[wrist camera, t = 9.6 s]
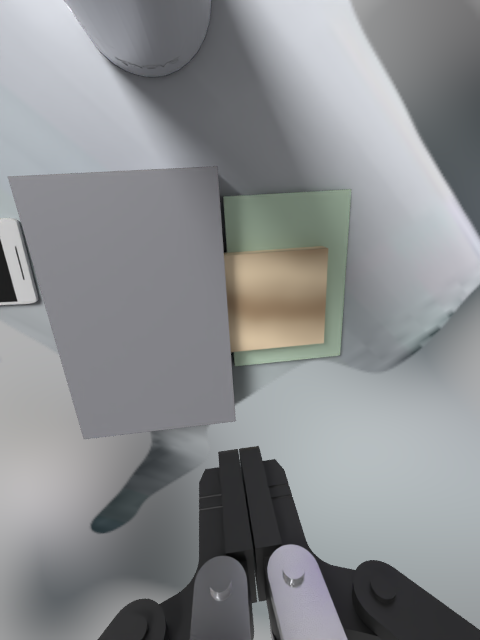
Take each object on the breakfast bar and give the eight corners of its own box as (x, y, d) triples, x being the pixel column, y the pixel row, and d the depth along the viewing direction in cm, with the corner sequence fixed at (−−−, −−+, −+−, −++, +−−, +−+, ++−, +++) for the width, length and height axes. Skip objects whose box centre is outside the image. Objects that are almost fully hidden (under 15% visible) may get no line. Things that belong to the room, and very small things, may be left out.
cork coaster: (222, 252, 28) (224, 255, 27) (322, 246, 29) (328, 248, 27) (229, 345, 31) (230, 352, 30) (318, 336, 32) (323, 343, 31)
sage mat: (222, 196, 27) (223, 196, 26) (348, 189, 28) (351, 189, 27) (234, 363, 33) (234, 366, 32) (337, 352, 34) (340, 355, 33)
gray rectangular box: (36, 179, 25) (7, 176, 21) (215, 170, 26) (217, 166, 22) (97, 412, 33) (83, 439, 29) (231, 397, 34) (235, 421, 30)
